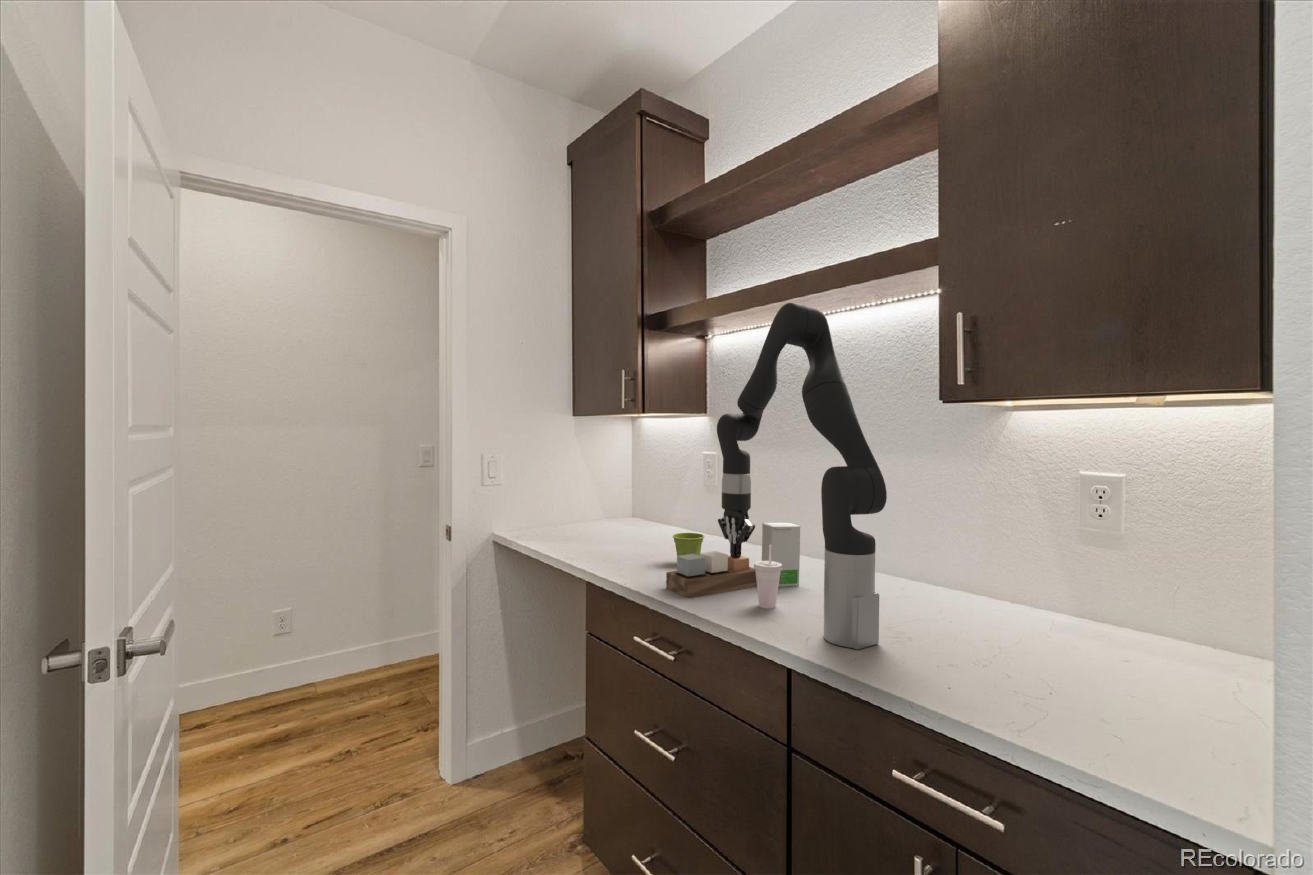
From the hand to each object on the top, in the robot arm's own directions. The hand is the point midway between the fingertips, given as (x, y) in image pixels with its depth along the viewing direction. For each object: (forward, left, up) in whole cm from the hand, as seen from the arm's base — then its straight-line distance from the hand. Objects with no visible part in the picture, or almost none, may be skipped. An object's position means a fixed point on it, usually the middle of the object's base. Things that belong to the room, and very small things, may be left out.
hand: (735, 557), depth 154 cm
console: (0, +7, -7) cm, 10 cm away
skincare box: (-6, -10, -7) cm, 14 cm away
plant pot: (+23, -1, -7) cm, 24 cm away
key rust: (0, 0, -4) cm, 4 cm away
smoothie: (-19, +6, -7) cm, 21 cm away
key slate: (0, +14, -3) cm, 14 cm away
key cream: (0, +7, -3) cm, 8 cm away
